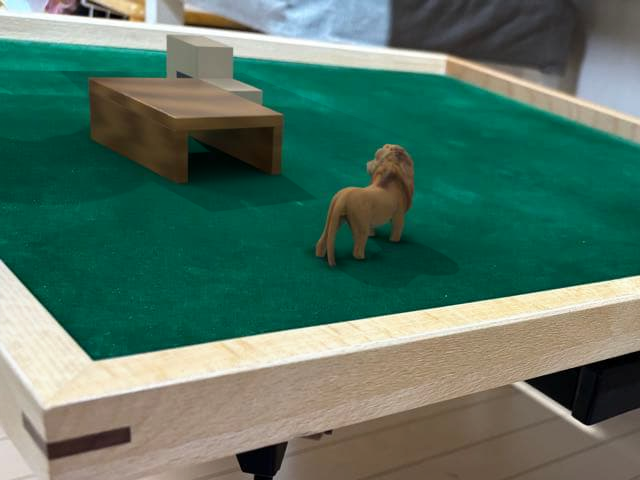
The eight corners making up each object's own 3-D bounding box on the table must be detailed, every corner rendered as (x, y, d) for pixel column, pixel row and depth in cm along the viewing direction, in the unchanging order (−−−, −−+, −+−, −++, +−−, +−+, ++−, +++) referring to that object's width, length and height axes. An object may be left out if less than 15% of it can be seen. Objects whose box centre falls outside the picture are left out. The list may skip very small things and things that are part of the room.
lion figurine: (365, 228, 85) (374, 134, 81) (417, 241, 85) (429, 148, 80) (301, 274, 72) (308, 165, 68) (362, 289, 72) (373, 181, 67)
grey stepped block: (165, 99, 114) (164, 33, 110) (203, 98, 118) (204, 35, 115) (226, 126, 108) (227, 58, 104) (264, 124, 112) (266, 59, 109)
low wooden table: (91, 149, 90) (87, 77, 87) (196, 144, 99) (196, 77, 96) (176, 195, 83) (176, 118, 80) (280, 184, 92) (284, 114, 89)
